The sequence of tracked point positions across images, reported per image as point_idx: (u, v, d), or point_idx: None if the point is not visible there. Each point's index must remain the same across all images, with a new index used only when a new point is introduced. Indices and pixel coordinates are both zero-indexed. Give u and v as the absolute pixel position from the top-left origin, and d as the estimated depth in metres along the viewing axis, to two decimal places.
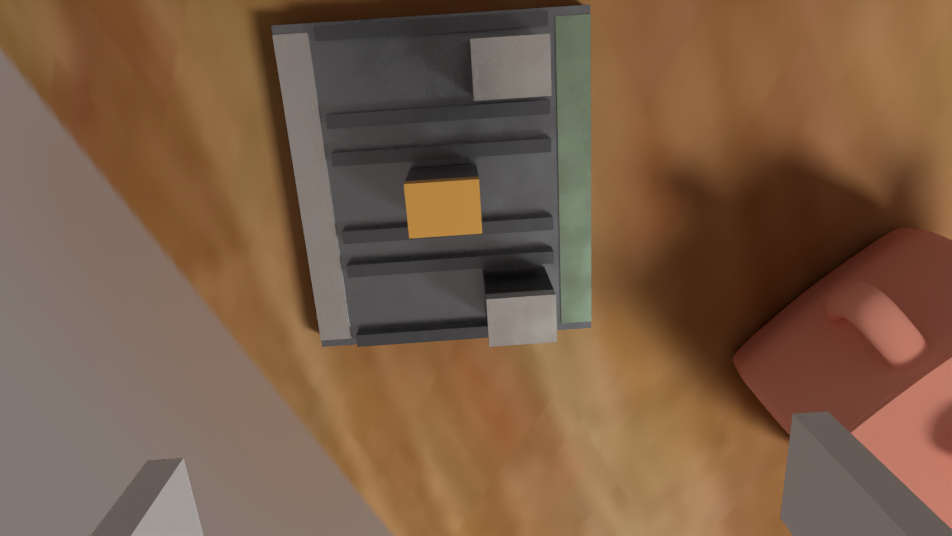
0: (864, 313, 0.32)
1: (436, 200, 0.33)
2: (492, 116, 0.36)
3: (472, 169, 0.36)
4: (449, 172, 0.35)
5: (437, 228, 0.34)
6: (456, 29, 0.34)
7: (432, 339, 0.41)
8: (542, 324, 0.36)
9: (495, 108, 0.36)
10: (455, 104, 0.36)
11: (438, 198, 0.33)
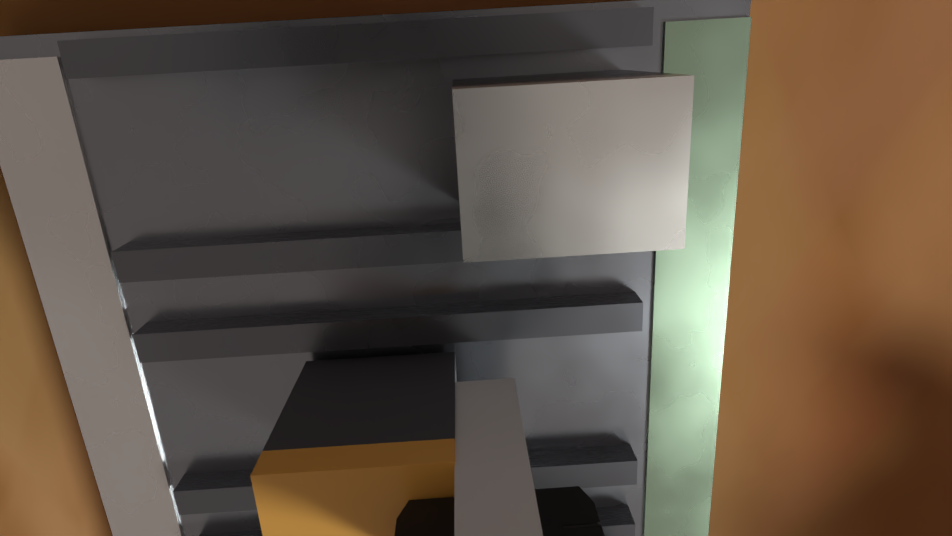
0: None
1: (341, 510, 0.12)
2: None
3: (443, 385, 0.15)
4: (387, 398, 0.15)
5: None
6: (422, 52, 0.14)
7: None
8: None
9: None
10: (423, 224, 0.16)
11: (346, 507, 0.12)
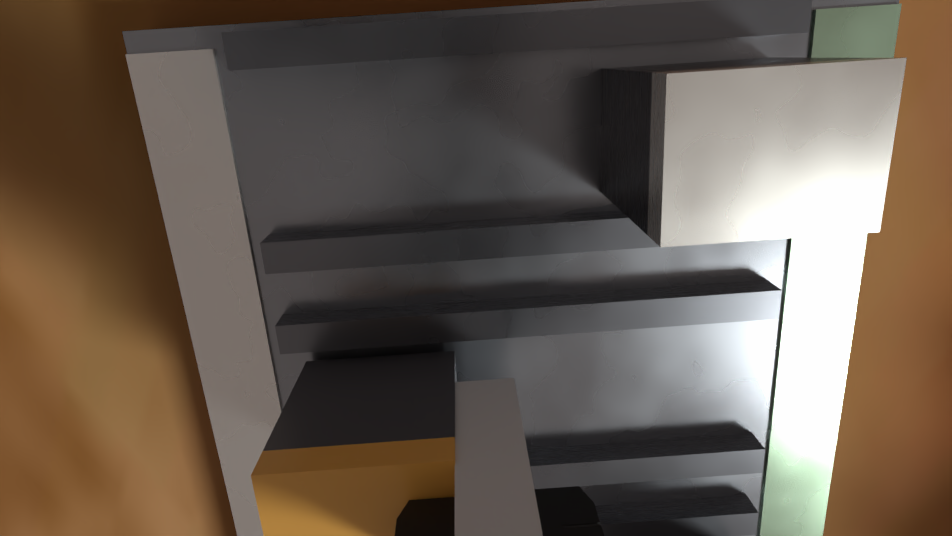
0: None
1: (342, 510, 0.12)
2: (652, 244, 0.15)
3: (443, 384, 0.15)
4: (387, 397, 0.15)
5: None
6: (581, 41, 0.14)
7: None
8: None
9: None
10: (562, 213, 0.16)
11: (347, 506, 0.12)
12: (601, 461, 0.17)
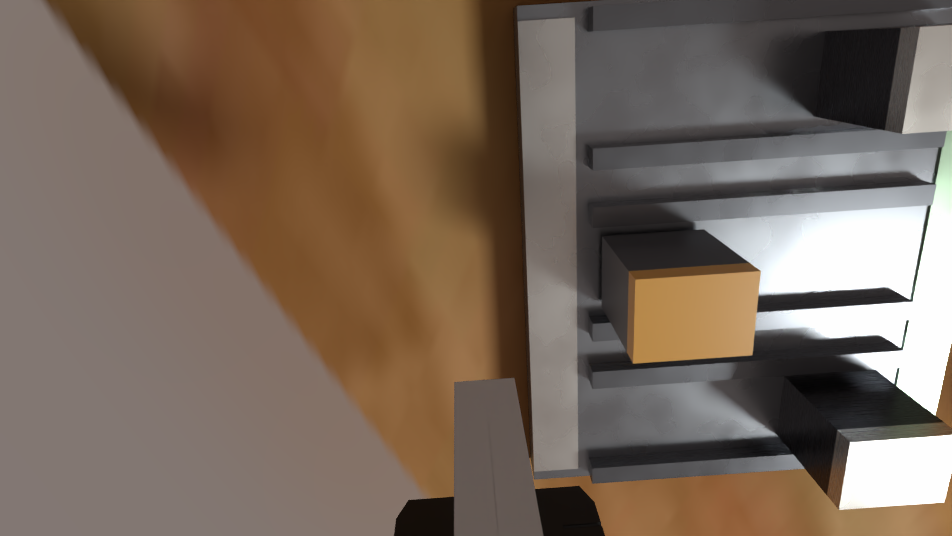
0: None
1: (686, 304, 0.20)
2: (853, 150, 0.23)
3: (715, 243, 0.23)
4: (682, 249, 0.22)
5: (681, 348, 0.20)
6: (822, 12, 0.21)
7: (702, 473, 0.27)
8: (928, 477, 0.23)
9: (860, 138, 0.23)
10: (787, 131, 0.23)
11: (689, 301, 0.20)
12: (799, 309, 0.25)
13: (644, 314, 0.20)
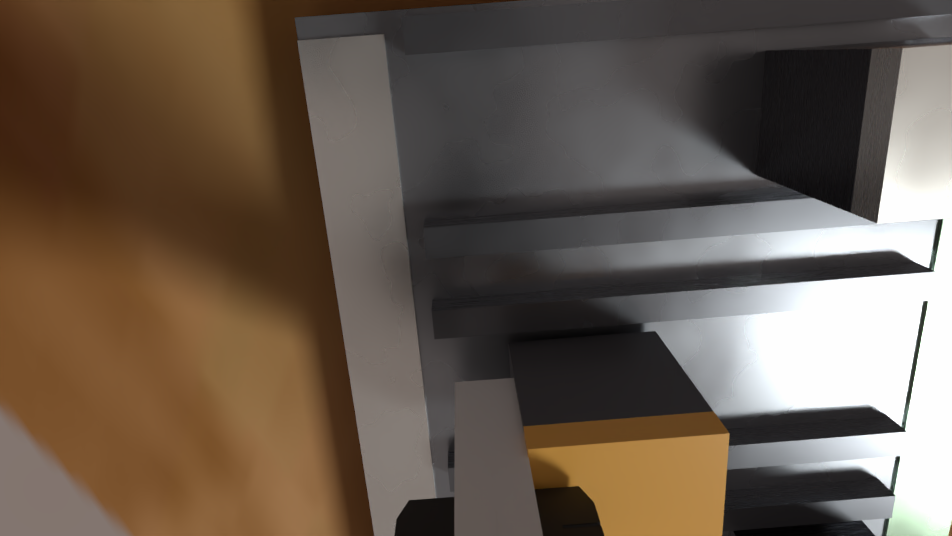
0: None
1: (612, 483, 0.13)
2: (811, 226, 0.15)
3: (666, 362, 0.15)
4: (616, 375, 0.15)
5: None
6: (756, 22, 0.14)
7: None
8: None
9: (821, 208, 0.15)
10: (716, 197, 0.16)
11: (617, 479, 0.12)
12: (743, 445, 0.17)
13: None
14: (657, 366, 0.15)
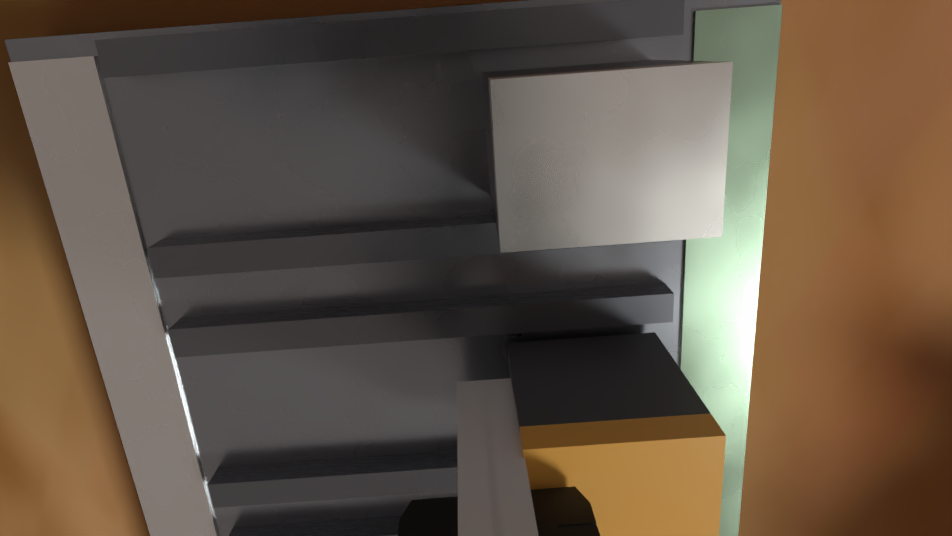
0: None
1: (607, 484, 0.12)
2: None
3: (665, 363, 0.15)
4: (614, 376, 0.15)
5: None
6: (453, 45, 0.14)
7: None
8: None
9: None
10: (453, 217, 0.16)
11: (612, 481, 0.12)
12: None
13: None
14: (656, 367, 0.15)
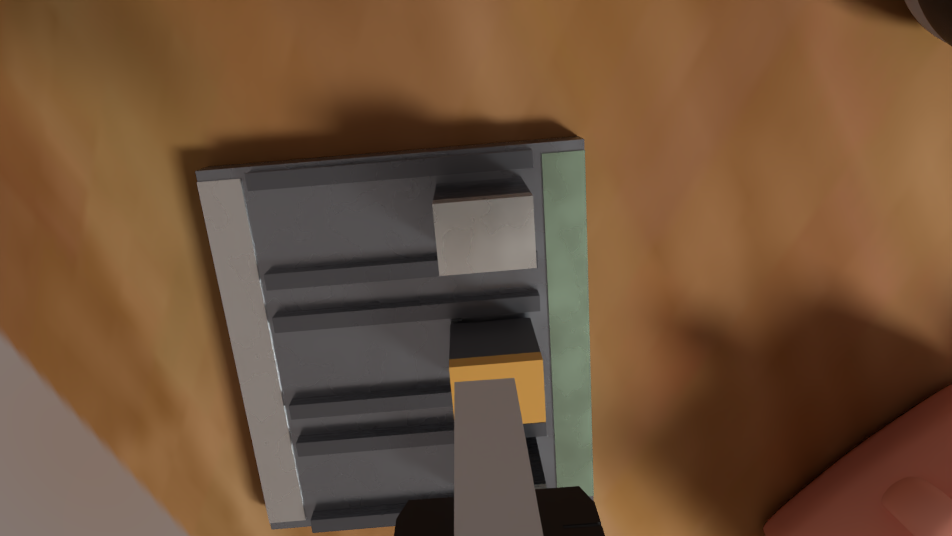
0: None
1: None
2: None
3: (528, 332, 0.29)
4: (501, 338, 0.29)
5: None
6: (420, 174, 0.28)
7: None
8: None
9: None
10: (422, 256, 0.30)
11: None
12: None
13: None
14: (523, 333, 0.29)
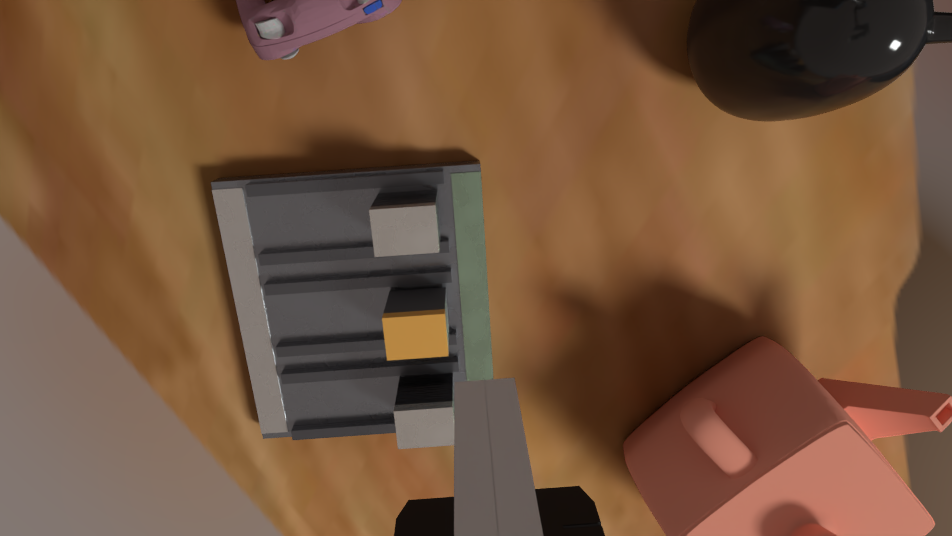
0: (699, 433, 0.38)
1: (409, 330, 0.40)
2: (400, 254, 0.42)
3: (441, 296, 0.42)
4: (421, 300, 0.42)
5: (410, 352, 0.40)
6: (366, 187, 0.41)
7: (357, 433, 0.47)
8: (442, 431, 0.42)
9: None
10: (369, 243, 0.43)
11: (411, 329, 0.40)
12: None
13: (389, 335, 0.40)
14: (437, 297, 0.42)
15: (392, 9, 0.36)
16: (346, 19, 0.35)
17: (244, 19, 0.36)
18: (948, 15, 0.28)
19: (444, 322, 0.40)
